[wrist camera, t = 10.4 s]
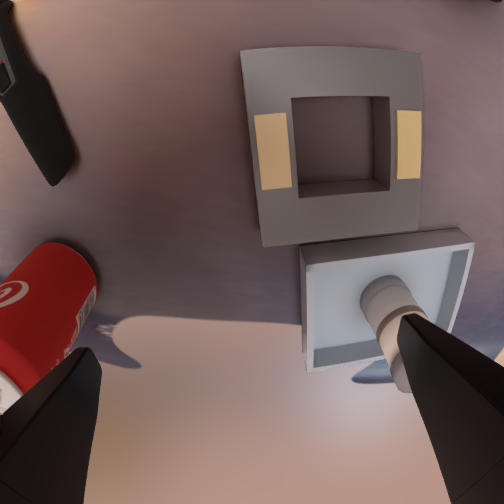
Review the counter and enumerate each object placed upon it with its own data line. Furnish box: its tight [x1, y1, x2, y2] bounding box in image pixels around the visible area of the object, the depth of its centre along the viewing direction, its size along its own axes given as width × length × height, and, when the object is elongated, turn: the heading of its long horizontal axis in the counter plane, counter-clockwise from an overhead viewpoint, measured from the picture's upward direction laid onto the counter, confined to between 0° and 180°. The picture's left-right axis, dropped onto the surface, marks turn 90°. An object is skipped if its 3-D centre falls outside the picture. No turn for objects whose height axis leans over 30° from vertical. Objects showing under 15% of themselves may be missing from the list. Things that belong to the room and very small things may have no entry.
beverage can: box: [0, 242, 98, 413], centre depth 17 cm, size 6×6×12 cm
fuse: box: [360, 275, 429, 393], centre depth 20 cm, size 4×4×8 cm
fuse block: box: [240, 46, 424, 248], centre depth 17 cm, size 10×11×3 cm
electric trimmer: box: [0, 0, 75, 186], centre depth 14 cm, size 4×16×3 cm, turn 26°
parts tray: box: [299, 228, 475, 373], centre depth 23 cm, size 13×10×2 cm
